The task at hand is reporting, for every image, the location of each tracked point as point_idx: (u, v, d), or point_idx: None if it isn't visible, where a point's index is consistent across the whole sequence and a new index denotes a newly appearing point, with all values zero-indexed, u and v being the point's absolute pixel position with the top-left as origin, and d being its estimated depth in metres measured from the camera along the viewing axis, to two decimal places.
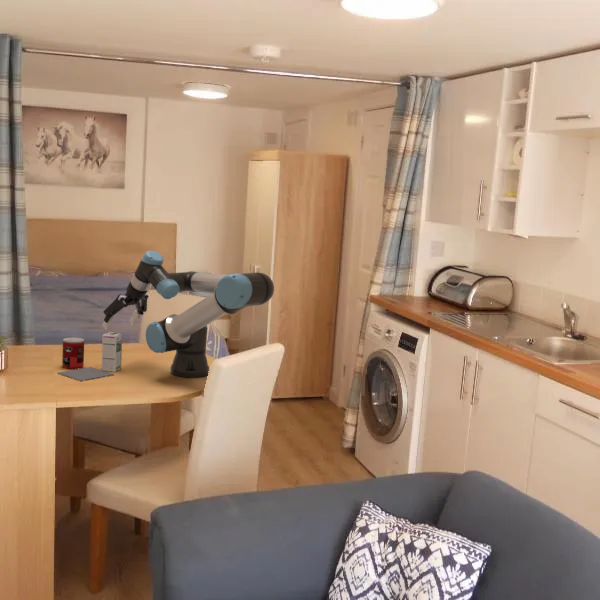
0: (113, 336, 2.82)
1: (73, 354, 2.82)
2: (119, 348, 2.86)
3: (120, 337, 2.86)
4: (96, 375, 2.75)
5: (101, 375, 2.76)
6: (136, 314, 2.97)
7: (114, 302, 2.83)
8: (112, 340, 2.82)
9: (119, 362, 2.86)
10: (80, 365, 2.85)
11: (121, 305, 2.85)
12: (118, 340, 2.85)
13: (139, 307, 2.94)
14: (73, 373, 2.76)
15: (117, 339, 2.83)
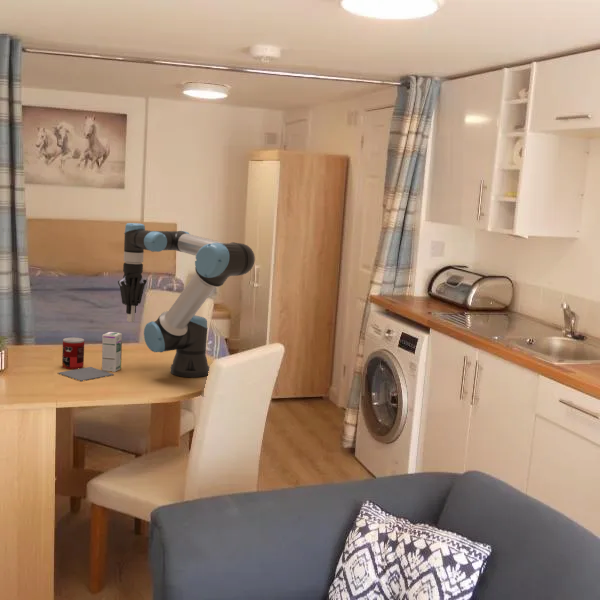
0: (113, 336, 2.82)
1: (73, 354, 2.82)
2: (119, 348, 2.86)
3: (120, 337, 2.86)
4: (96, 375, 2.75)
5: (101, 375, 2.76)
6: None
7: (121, 290, 2.86)
8: (112, 340, 2.82)
9: (119, 362, 2.86)
10: (80, 365, 2.85)
11: (129, 290, 2.88)
12: (118, 340, 2.85)
13: (136, 293, 2.90)
14: (73, 373, 2.76)
15: (117, 339, 2.83)
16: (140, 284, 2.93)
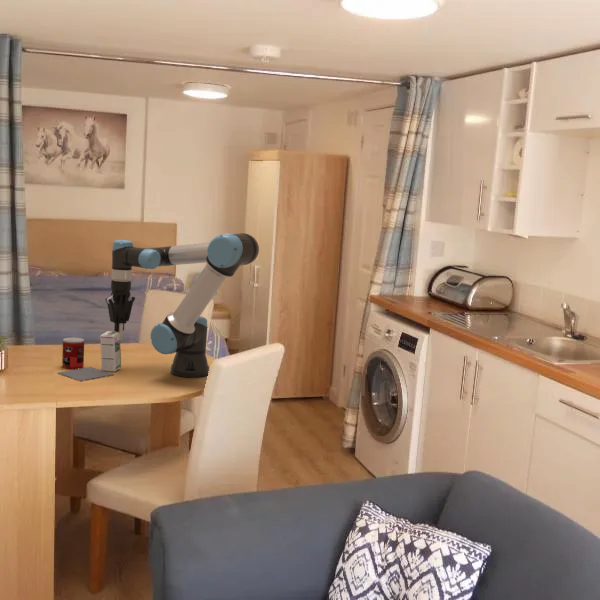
0: (111, 336, 2.81)
1: (73, 354, 2.82)
2: (118, 347, 2.85)
3: (118, 336, 2.85)
4: (96, 375, 2.75)
5: (101, 375, 2.76)
6: None
7: (109, 308, 2.83)
8: (110, 340, 2.81)
9: (118, 361, 2.86)
10: (80, 365, 2.85)
11: (117, 307, 2.84)
12: (117, 339, 2.84)
13: (124, 311, 2.87)
14: (73, 373, 2.76)
15: (115, 339, 2.82)
16: (128, 301, 2.89)
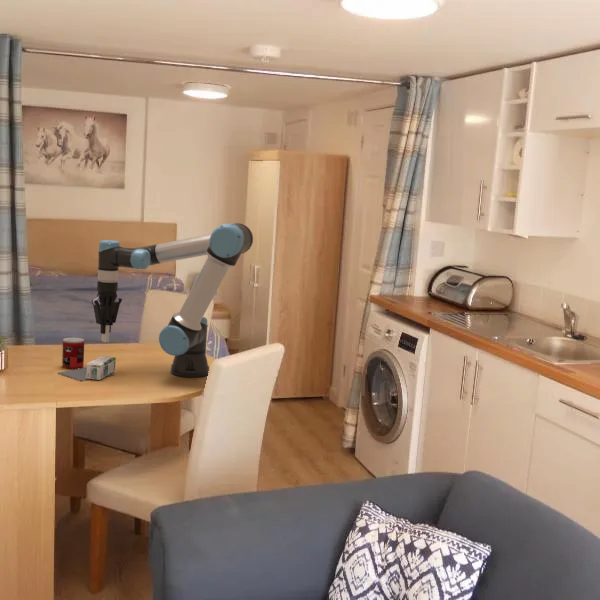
0: (97, 379, 2.70)
1: (73, 354, 2.82)
2: (106, 368, 2.74)
3: (101, 368, 2.70)
4: None
5: None
6: None
7: (95, 309, 2.77)
8: None
9: (112, 365, 2.80)
10: (80, 365, 2.85)
11: (103, 309, 2.79)
12: (102, 371, 2.71)
13: (111, 312, 2.81)
14: (73, 373, 2.76)
15: (101, 375, 2.71)
16: (115, 303, 2.84)
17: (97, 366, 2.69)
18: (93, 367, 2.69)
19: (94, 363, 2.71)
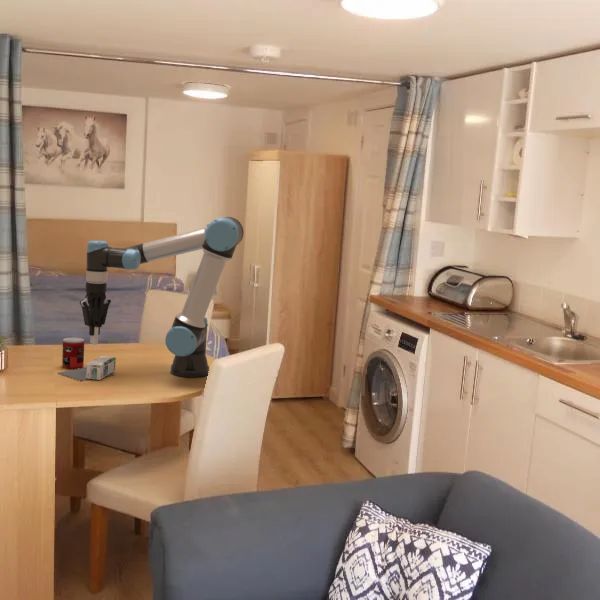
0: (97, 379, 2.70)
1: (73, 354, 2.82)
2: (106, 368, 2.74)
3: (101, 368, 2.70)
4: None
5: None
6: None
7: (83, 311, 2.73)
8: None
9: (112, 365, 2.80)
10: (80, 365, 2.85)
11: (92, 310, 2.75)
12: (102, 371, 2.71)
13: (99, 314, 2.77)
14: (73, 373, 2.76)
15: (101, 375, 2.71)
16: (104, 304, 2.80)
17: (97, 366, 2.69)
18: (93, 367, 2.69)
19: (94, 363, 2.71)
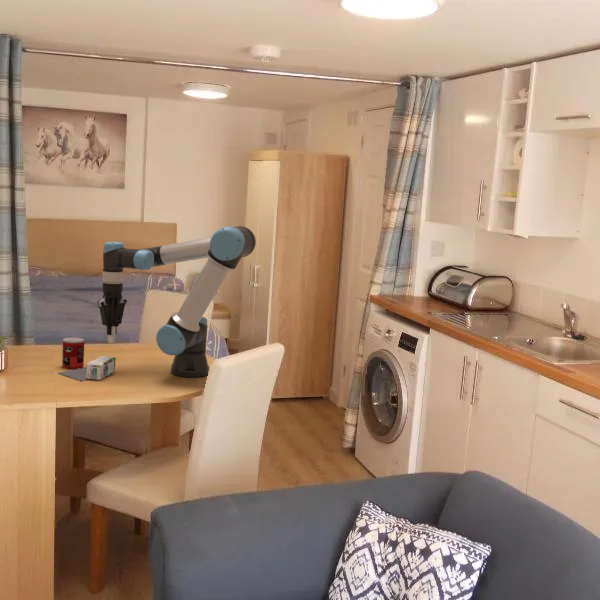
0: (97, 379, 2.70)
1: (73, 354, 2.82)
2: (106, 368, 2.74)
3: (101, 368, 2.70)
4: None
5: None
6: None
7: (101, 311, 2.79)
8: None
9: (112, 365, 2.80)
10: (80, 365, 2.85)
11: (109, 310, 2.81)
12: (102, 371, 2.71)
13: (116, 314, 2.83)
14: (73, 373, 2.76)
15: (101, 375, 2.71)
16: (120, 304, 2.86)
17: (97, 366, 2.69)
18: (93, 367, 2.69)
19: (94, 363, 2.71)
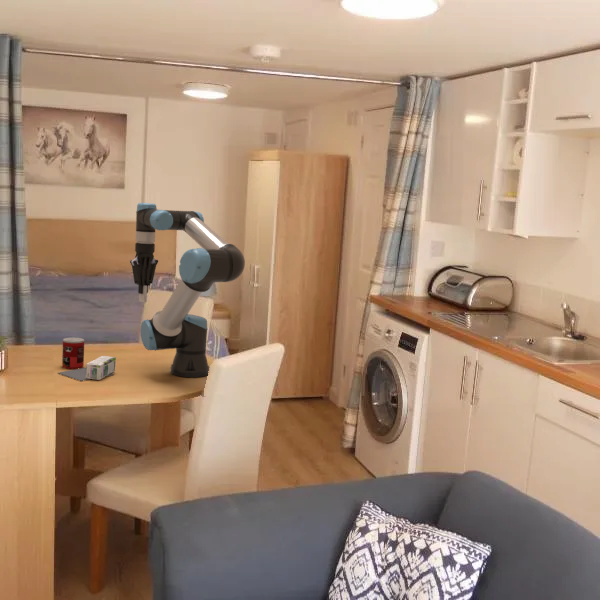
0: (97, 379, 2.70)
1: (73, 354, 2.82)
2: (106, 368, 2.74)
3: (101, 368, 2.70)
4: None
5: None
6: None
7: (133, 269, 2.86)
8: None
9: (112, 365, 2.80)
10: (80, 365, 2.85)
11: (141, 269, 2.88)
12: (102, 371, 2.71)
13: (148, 273, 2.91)
14: (73, 373, 2.76)
15: (101, 375, 2.71)
16: (152, 264, 2.93)
17: (97, 366, 2.69)
18: (93, 367, 2.69)
19: (94, 363, 2.71)
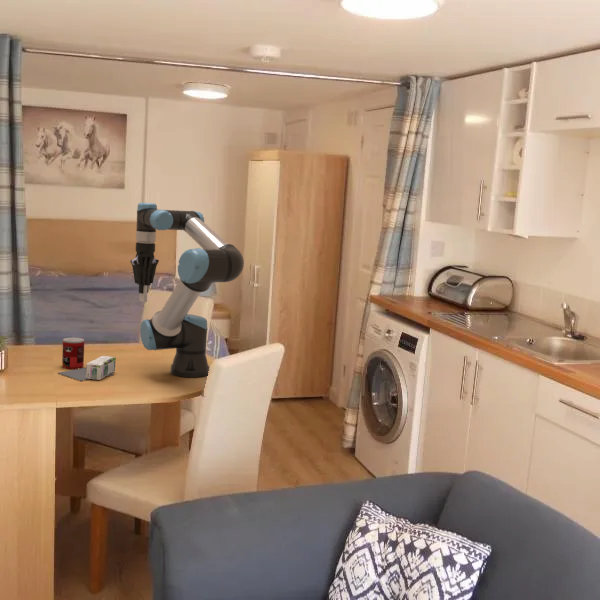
0: (97, 379, 2.70)
1: (73, 354, 2.82)
2: (106, 368, 2.74)
3: (101, 368, 2.70)
4: None
5: None
6: None
7: (134, 269, 2.87)
8: None
9: (112, 365, 2.80)
10: (80, 365, 2.85)
11: (141, 269, 2.89)
12: (102, 371, 2.71)
13: (148, 273, 2.91)
14: (73, 373, 2.76)
15: (101, 375, 2.71)
16: (152, 264, 2.94)
17: (97, 366, 2.69)
18: (93, 367, 2.69)
19: (94, 363, 2.71)
